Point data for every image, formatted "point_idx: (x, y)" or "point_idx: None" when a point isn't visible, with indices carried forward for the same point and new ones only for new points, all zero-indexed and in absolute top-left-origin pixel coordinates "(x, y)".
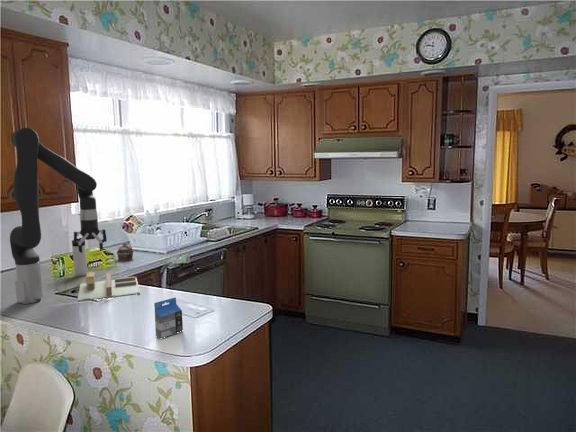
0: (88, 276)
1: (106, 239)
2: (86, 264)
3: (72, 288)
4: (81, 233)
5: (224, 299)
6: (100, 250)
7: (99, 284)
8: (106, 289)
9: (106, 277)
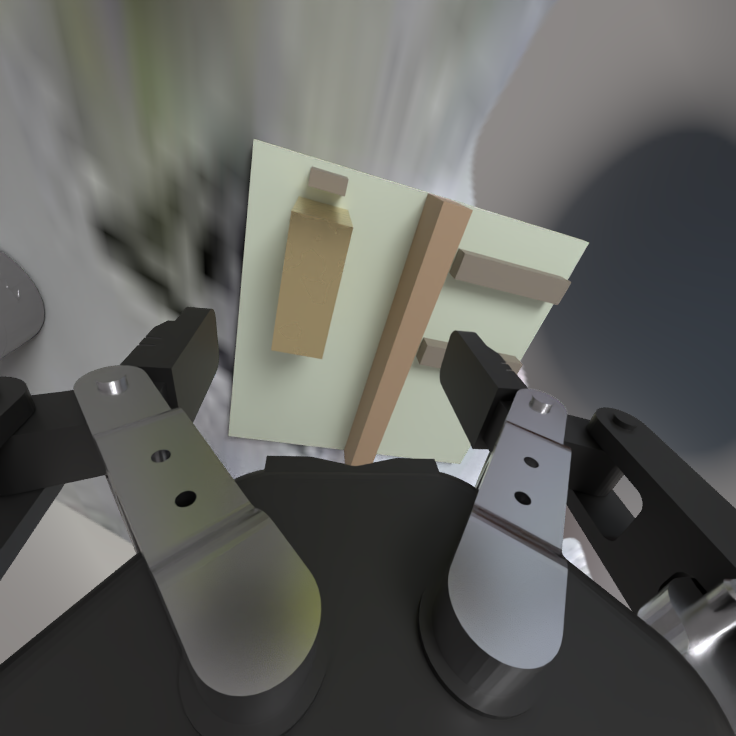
0: (288, 345)
1: (606, 503)
2: None
3: (199, 179)
4: None
5: (579, 569)
6: (444, 381)
7: (362, 256)
8: (367, 370)
9: (400, 327)
